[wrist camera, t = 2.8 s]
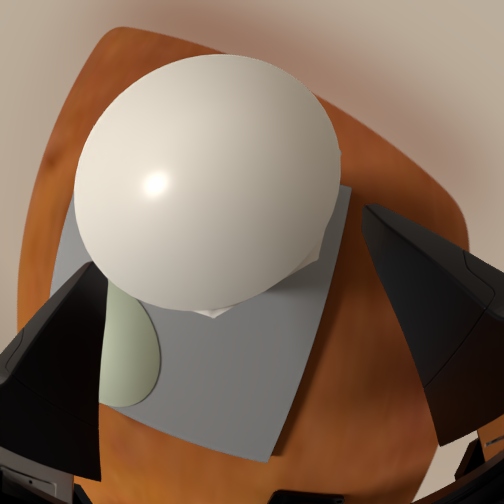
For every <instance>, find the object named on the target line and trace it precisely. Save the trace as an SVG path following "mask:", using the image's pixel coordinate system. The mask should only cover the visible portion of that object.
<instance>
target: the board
mask: <svg viewBox="0 0 504 504" xmlns="http://www.w3.org/2000/svg"><path fill="white" fill-rule="evenodd" d="M351 190H352V188H350V187H347V186H344V185H339V193H338V196H337V200H336V203H335V207H334V210H333V213H332V215H331V218H330V220H329V222H328V224H327V227H326V229H325V232H324V236H323V240H322V244H321V248H320V252H319V258H318V260H317V261H314V262H312V263H310V264H308V265H307V266H305V267H303V268H301V269H300V270H298V271H296V272H295V273H293V274H291V275H289V276H288V277H286V278H284V279H283V280H281V281H280V282H278V283H276V284H275V285H273V286H272V287H270V288H269V289H267V290H266V291H264V292H262V293H260V294H258V295H256V296H254V297H252V298H250V299H248V300H245V301H244V302H242V303H240V304H238V305H236V306H235V307H233V308H231V309H229V310H227V311H225V312H224V313H222V314H220V315H219V316H218V317H216V318H212V317H209V316H206V315H203V314H200V313H197V312H194V311H180V310H173V309H165V308H161V307H158V306H155V305H151V304H148V303H145V302H143V301H141V300H139V299H137V298H135V297H132V296H130V295H129V294H127V293H126V292H124V291H123V290H121V289H120V288H118V287H117V286H116V285H115V284H114V283H112V282H111V281H110V280H109V279H108V295H107V310H106V324H105V332H104V340H103V349H102V359H101V371H100V388H99V402H100V403H102V404H105V405H107V406H109V407H110V408H112V409H114V410H116V411H118V412H120V413H122V414H124V415H126V416H128V417H130V418H132V419H134V420H136V421H139V422H141V423H143V424H145V425H147V426H150V427H152V428H154V429H157V430H159V431H162V432H164V433H167V434H169V435H172V436H174V437H177V438H180V439H182V440H185V441H188V442H191V443H194V444H197V445H200V446H203V447H206V448H209V449H212V450H216V451H219V452H222V453H226V454H230V455H233V456H237V457H241V458H246V459H250V460H254V461H259V462H264V463H267V462H268V460H269V458H270V456H271V453H272V451H273V449H274V446H275V444H276V442H277V439H278V437H279V435H280V432H281V430H282V427H283V425H284V423H285V420H286V418H287V415H288V412H289V410H290V407H291V405H292V402H293V399H294V397H295V394H296V391H297V389H298V386H299V383H300V380H301V378H302V375H303V372H304V369H305V366H306V363H307V360H308V357H309V354H310V351H311V348H312V345H313V342H314V339H315V335H316V332H317V329H318V326H319V322H320V319H321V316H322V312H323V309H324V305H325V302H326V298H327V295H328V291H329V287H330V284H331V280H332V276H333V272H334V268H335V264H336V260H337V256H338V252H339V247H340V243H341V239H342V234H343V230H344V225H345V221H346V216H347V211H348V206H349V201H350V196H351ZM90 261H93V260H92V258H91V256H90V255H89V253H88V251H87V249H86V247H85V245H84V243H83V240H82V238H81V235H80V232H79V228H78V225H77V221H76V214H75V206H74V193H73V196H72V199H71V203H70V206H69V209H68V213H67V216H66V220H65V224H64V227H63V231H62V235H61V239H60V244H59V248H58V253H57V257H56V262H55V268H54V273H53V279H52V285H51V292H50V298H51V296H52V295H53V294H54V293H55V292H56V291H57V290H58V289H59V288H60V287H61V286H62V285H63V284H64V283H65V282H66V281H67V280H68V279H69V278H70V277H71V276H72V275H73V274H74V273H75V272H76V271H77V270H78V269H79V268H80V267H81V266H83V265H84V264H85V263H86V262H90Z"/></svg>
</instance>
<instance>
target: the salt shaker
mask: <svg viewBox="0 0 504 504" xmlns="http://www.w3.org/2000/svg"><path fill="white" fill-rule="evenodd" d="M341 154H342V153H341V150H339V146H338V141H337V137H336V134H335V131H334V128H333V126H332V123H331V121H330V119H329V117H328V115H327V113H326V111H325V110H324V108H323V106H322V105H321V104H320V102H319V101H318V100H317V98H316V97H315V96H314V95H313V94H312V93H311V92H310V90H309V89H308V88H307V87H306V86H304V85H303V84H302V83H301V82H300V81H298V80H297V79H296V78H295V77H293V76H292V75H290V74H289V73H287V72H285V71H284V70H282V69H280V68H278V67H276V66H274V65H271V64H269V63H266V62H264V61H261V60H257V59H254V58H250V57H244V56H238V55H226V54H214V55H202V56H196V57H191V58H186V59H183V60H180V61H176V62H173V63H170V64H168V65H165V66H163V67H161V68H158V69H156V70H155V71H153V72H151V73H149V74H147V75H145V76H144V77H142V78H141V79H139V80H138V81H136V82H135V83H133V84H132V85H131V86H130V87H128V88H127V89H126V90H125V91H124V92H122V93H121V94H120V95H119V96H118V97H117V98H116V99H115V100H114V101H113V102H112V103H111V104H110V105H109V107H108V108H107V109H106V110H105V112H104V113H103V114H102V115H101V117H100V118H99V120H98V121H97V123H96V124H95V126H94V128H93V129H92V131H91V133H90V135H89V137H88V139H87V141H86V143H85V145H84V148H83V151H82V154H81V156H80V159H79V163H78V168H77V172H76V178H75V187H74V206H75V214H76V221H77V225H78V228H79V232H80V235H81V238H82V240H83V243H84V245H85V247H86V249H87V251H88V253H89V255H90V256H91V258H92V260H93V261H94V263H95V264H96V265H97V267H98V268H99V269H100V270H101V272H102V273H103V274H104V275H105V276H106V277H107V278H108V279H109V280H110V281H111V282H112V283H114V284H115V285H116V286H117V287H118V288H120V289H121V290H123V291H124V292H126V293H127V294H129V295H130V296H132V297H135V298H137V299H139V300H141V301H143V302H145V303H148V304H151V305H155V306H158V307H161V308H165V309H173V310H180V311H194V312H197V313H200V314H203V315H206V316H209V317H212V318H216V317H218V316H219V315H220V314H222V313H224V312H225V311H227V310H229V309H231V308H233V307H235V306H236V305H238V304H240V303H242V302H244V301H245V300H248V299H250V298H252V297H254V296H256V295H258V294H260V293H262V292H264V291H266V290H267V289H269V288H270V287H272V286H273V285H275V284H276V283H278V282H280V281H281V280H283V279H284V278H286V277H288V276H289V275H291V274H293V273H295V272H296V271H298V270H300V269H301V268H303V267H305V266H307V265H308V264H310V263H312V262H314V261H317V260H318V258H319V252H320V248H321V244H322V240H323V236H324V232H325V229H326V227H327V224H328V222H329V220H330V218H331V215H332V213H333V210H334V207H335V203H336V200H337V196H338V193H339V185H340V177H341V163H340V156H341Z"/></svg>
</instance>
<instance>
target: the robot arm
mask: <svg viewBox="0 0 504 504" xmlns="http://www.w3.org/2000/svg"><path fill="white" fill-rule="evenodd" d="M362 233H363V236H364V239H365V241H366V244H367V246H368V249H369V252H370V255H371V257H372V260H373V263H374V266H375V268H376V271H377V274H378V276H379V278H380V280H381V282H382V285H383V287H384V289H385V291H386V293H387V296H388V298H389V300H390V302H391V305H392V307H393V309H394V311H395V314H396V316H397V318H398V321H399V323H400V326H401V328H402V331H403V333H404V336H405V338H406V341H407V343H408V346H409V349H410V351H411V354H412V357H413V359H414V362H415V365H416V368H417V371H418V373H419V376H420V379H421V382H422V385H423V388H424V392H425V395H426V399H427V402H428V405H429V409H430V412H431V416H432V419H433V423H434V427H435V430H436V434H437V438H438V442H439V446H440V447H441V446H444V445H446V444H448V443H451V442H453V441H455V440H457V439H459V438H462V437H464V436H465V435H468V434H470V433H471V432H473V431H476V430H477V434H478V438H477V439H475V440H474V441H472V442H470V443H469V445H468V447H467V450H466V452H465V454H464V457H463V459H462V461H461V463H460V465H459V467H458V469H457V471H456V473H455V475H454V476H455V480H456V481H455V482H453V483H451V484H450V485H448V486H446V487H444V488H442V489H440V490H438V491H436V492H434V493H432V494H430V495H428V496H426V497H424V498H422V499H419V500H417V501H415V502H413V503H410V504H504V273H503V272H502V271H500V270H498V269H496V268H495V267H493V266H491V265H489V264H487V263H485V262H484V261H482V260H481V259H479V258H477V257H476V256H474V255H472V254H471V253H469V252H467V251H466V250H462V248H461V247H459V246H457V245H455V244H454V243H452V242H450V241H448V240H447V239H445V238H443V237H441V236H439V235H438V234H436V233H434V232H432V231H430V230H428V229H427V228H425V227H423V226H421V225H419V224H417V223H415V222H413V221H411V220H409V219H407V218H405V217H403V216H401V215H399V214H397V213H395V212H393V211H391V210H389V209H387V208H385V207H383V206H381V205H378V204H376V203H373V204H367V205H364V207H363V211H362ZM107 295H108V278H107V277H106V276H105V275H104V274H103V273H102V272H101V270H100V269H99V268H98V267H97V265H96V264H95V263H94V261H90V262H86V263H85V264H84V265H83V266H81V267H80V268H79V269H78V270H77V271H76V272H75V273H74V274H73V275H72V276H71V277H70V278H69V279H68V280H67V281H66V282H65V283H64V284H63V285H62V286H61V287H60V288H59V289H58V290H57V291H56V292H55V293H54V294H53V295H52V296H51V298H50V299H49V300H48V301H47V302H46V303H45V304H44V305H43V306H42V307H41V308H40V309H39V310H38V312H37V313H36V314H35V315H34V316H33V317H32V318H31V319H30V320H29V322H28V323H27V324H26V325H25V327H23V328H22V330H21V331H20V332H19V333H18V334H17V336H16V337H15V338H14V339H13V340H12V342H11V343H10V344H9V345H8V346H7V347H6V348H5V350H4V351H3V352H2V353H1V354H0V504H93V503H92V502H91V501H90V499H89V498H88V496H87V495H86V493H85V492H84V490H83V489H82V487H81V485H79V484H76V483H74V475H75V476H79V477H83V478H86V479H91V480H95V481H99V482H101V467H100V451H99V429H98V428H99V388H100V371H101V359H102V349H103V340H104V332H105V324H106V310H107ZM278 495H280V496H278ZM344 502H345V499H344V497H343V496H329V495H313V494H302V493H293V492H285V491H275V492H274V493H273V494H272V496H271V497H270V499H269V501H268V503H267V504H343V503H344Z"/></svg>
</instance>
